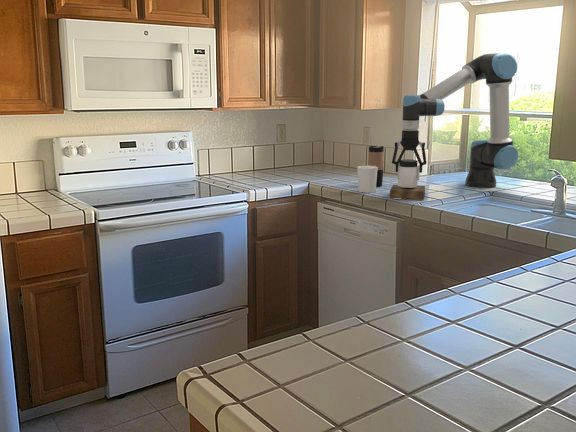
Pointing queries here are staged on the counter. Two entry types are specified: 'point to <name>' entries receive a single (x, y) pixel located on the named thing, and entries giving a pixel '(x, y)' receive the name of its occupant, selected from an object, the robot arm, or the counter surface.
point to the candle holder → (367, 178)
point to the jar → (408, 173)
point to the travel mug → (377, 162)
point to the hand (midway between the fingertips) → (408, 179)
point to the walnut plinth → (407, 192)
